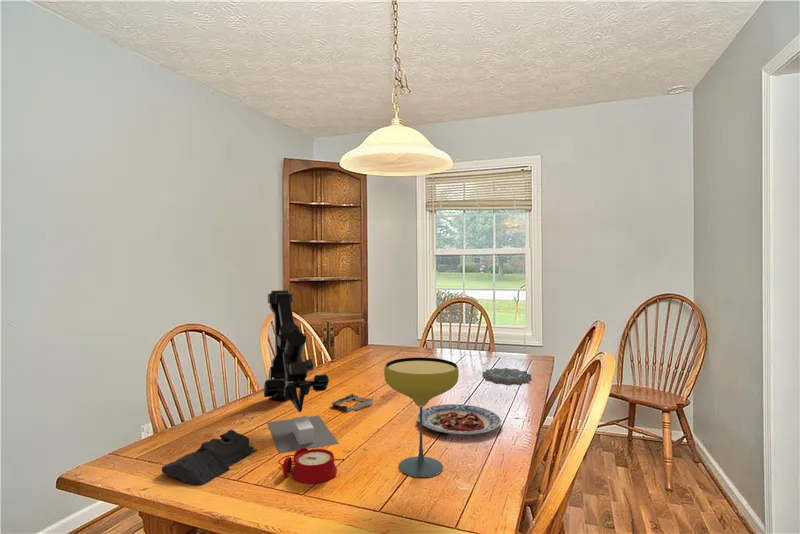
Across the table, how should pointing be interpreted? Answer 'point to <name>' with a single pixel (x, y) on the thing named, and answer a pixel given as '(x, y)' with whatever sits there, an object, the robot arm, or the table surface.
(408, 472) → the cocktail glass
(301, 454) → the alarm clock
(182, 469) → the dark slate chunk
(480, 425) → the ceramic plate
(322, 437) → the rubber mat
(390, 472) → the table surface
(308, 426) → the painted block
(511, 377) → the decorative tile
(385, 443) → the table surface
